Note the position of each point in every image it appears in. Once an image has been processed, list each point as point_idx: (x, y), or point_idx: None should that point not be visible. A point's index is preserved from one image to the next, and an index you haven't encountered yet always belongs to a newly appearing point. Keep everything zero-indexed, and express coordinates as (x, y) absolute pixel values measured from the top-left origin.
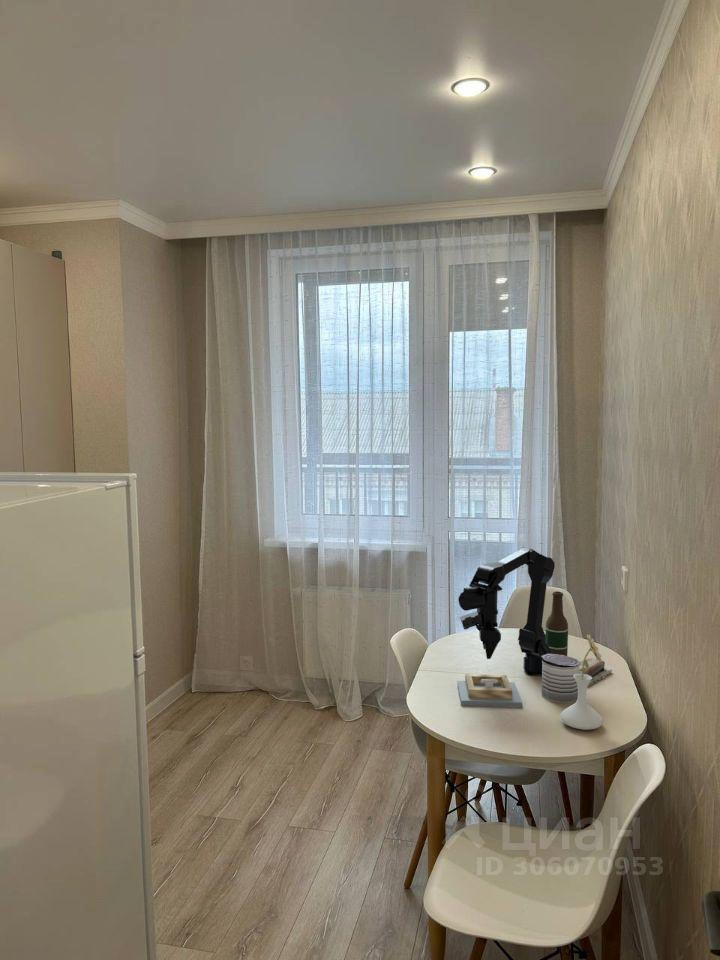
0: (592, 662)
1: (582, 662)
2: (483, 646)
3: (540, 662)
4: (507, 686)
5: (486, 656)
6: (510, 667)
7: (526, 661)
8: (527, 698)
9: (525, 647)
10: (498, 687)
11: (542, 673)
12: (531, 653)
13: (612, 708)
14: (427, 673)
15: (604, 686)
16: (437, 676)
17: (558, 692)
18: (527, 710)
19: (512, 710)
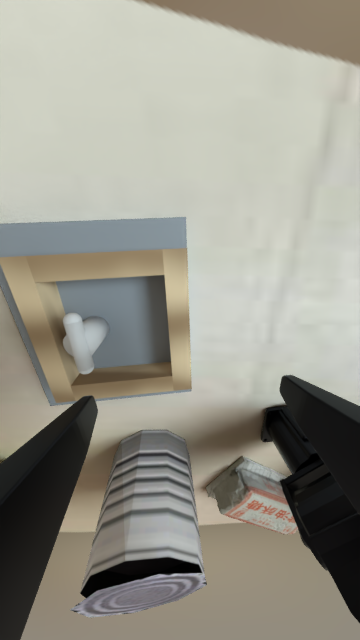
0: (277, 525)
1: (281, 513)
2: (296, 386)
3: (284, 460)
4: (89, 391)
5: (74, 406)
6: (320, 377)
7: (298, 434)
8: (121, 405)
9: (330, 486)
10: (145, 354)
11: (151, 490)
12: (314, 469)
13: None
14: (310, 73)
15: (209, 504)
16: (271, 131)
17: (109, 478)
18: (44, 404)
19: (28, 375)
